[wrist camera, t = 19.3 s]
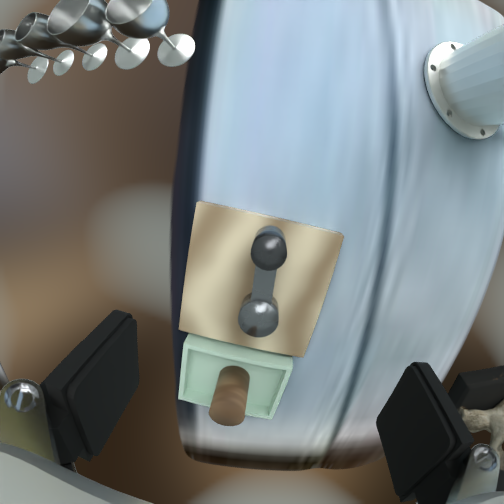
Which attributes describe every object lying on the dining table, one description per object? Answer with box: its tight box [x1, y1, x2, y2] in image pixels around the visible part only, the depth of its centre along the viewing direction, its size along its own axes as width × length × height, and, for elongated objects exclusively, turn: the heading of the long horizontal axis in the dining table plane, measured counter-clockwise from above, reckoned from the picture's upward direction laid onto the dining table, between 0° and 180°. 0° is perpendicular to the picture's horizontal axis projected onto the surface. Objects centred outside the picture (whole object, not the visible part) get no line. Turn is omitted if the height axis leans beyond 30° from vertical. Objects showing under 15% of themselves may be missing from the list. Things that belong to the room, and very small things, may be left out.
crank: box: [238, 225, 287, 337], centre depth 27 cm, size 11×4×6 cm, turn 173°
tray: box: [178, 333, 293, 420], centre depth 35 cm, size 13×10×2 cm
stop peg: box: [209, 365, 250, 426], centre depth 32 cm, size 4×4×7 cm
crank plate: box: [179, 201, 344, 357], centre depth 31 cm, size 15×15×2 cm
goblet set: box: [0, 0, 195, 84], centre depth 19 cm, size 28×6×13 cm, turn 80°
